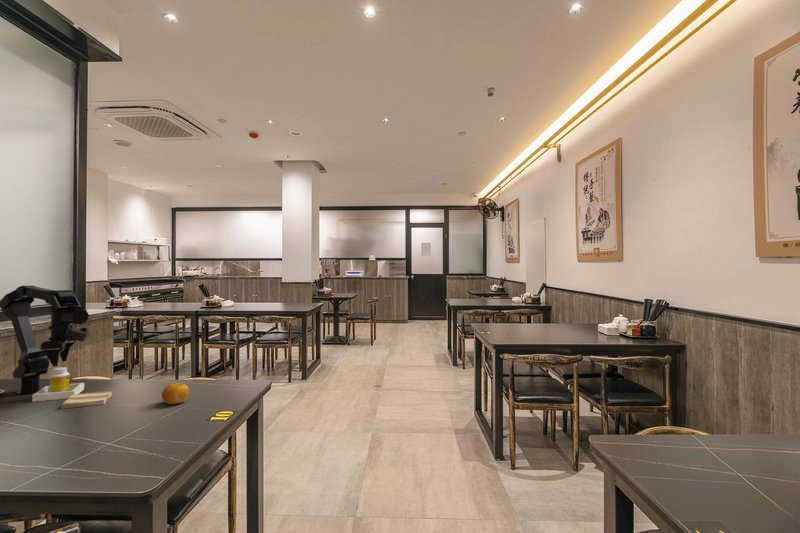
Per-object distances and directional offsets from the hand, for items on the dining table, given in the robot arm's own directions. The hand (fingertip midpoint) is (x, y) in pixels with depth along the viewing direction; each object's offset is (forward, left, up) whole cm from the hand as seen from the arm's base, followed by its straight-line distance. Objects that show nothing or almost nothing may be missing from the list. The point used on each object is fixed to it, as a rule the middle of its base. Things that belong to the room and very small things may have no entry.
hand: (59, 363), depth 150 cm
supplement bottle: (0, 0, -12) cm, 12 cm away
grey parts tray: (0, 0, -12) cm, 12 cm away
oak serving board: (+13, +12, -12) cm, 21 cm away
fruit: (+27, +41, -12) cm, 51 cm away
